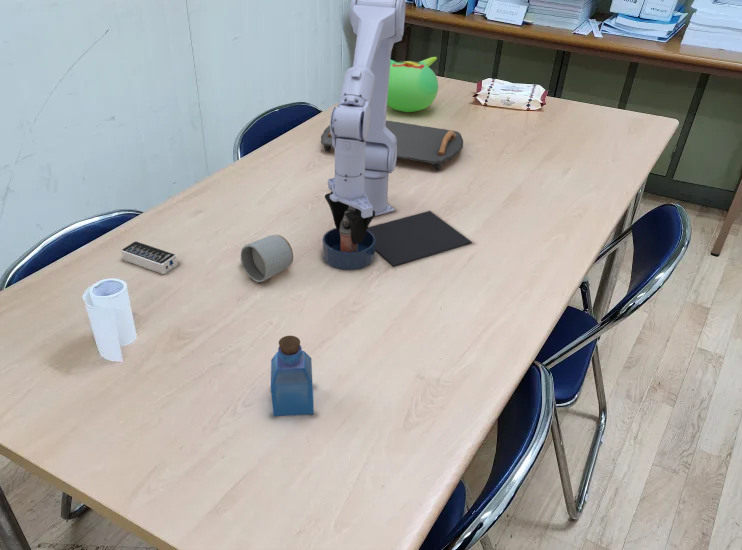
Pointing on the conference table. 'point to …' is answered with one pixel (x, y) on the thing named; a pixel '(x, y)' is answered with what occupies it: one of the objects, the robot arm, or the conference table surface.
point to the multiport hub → (149, 257)
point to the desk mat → (415, 238)
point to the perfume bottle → (291, 379)
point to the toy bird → (411, 85)
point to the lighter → (347, 234)
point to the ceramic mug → (266, 257)
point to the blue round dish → (347, 259)
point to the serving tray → (417, 143)
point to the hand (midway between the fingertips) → (349, 234)
